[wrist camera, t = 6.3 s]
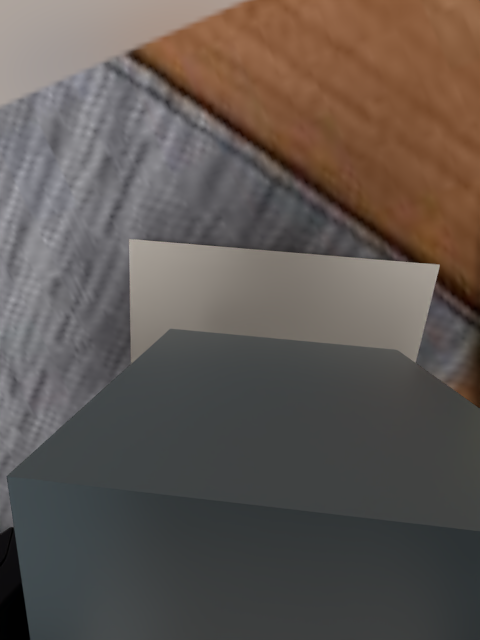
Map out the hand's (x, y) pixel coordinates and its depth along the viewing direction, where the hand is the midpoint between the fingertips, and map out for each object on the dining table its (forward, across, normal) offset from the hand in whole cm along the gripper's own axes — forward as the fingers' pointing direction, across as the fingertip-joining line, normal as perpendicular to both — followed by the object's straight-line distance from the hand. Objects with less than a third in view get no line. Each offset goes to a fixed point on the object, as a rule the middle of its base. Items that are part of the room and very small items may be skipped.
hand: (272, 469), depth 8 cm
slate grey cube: (+2, 0, 0) cm, 2 cm away
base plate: (+8, 0, 0) cm, 8 cm away
